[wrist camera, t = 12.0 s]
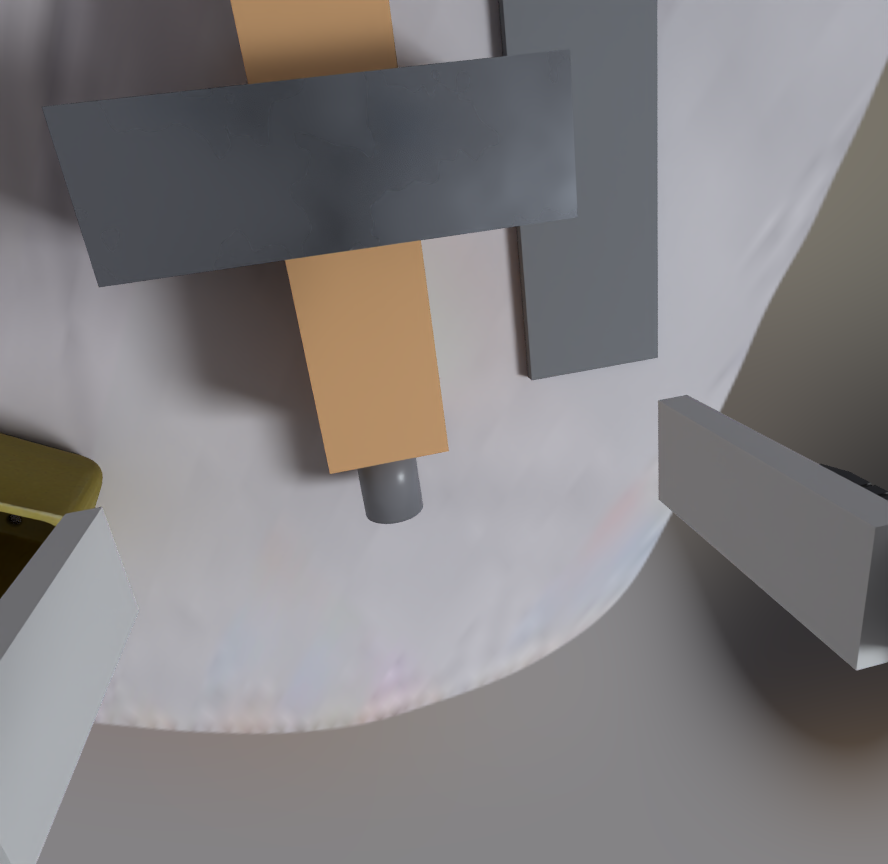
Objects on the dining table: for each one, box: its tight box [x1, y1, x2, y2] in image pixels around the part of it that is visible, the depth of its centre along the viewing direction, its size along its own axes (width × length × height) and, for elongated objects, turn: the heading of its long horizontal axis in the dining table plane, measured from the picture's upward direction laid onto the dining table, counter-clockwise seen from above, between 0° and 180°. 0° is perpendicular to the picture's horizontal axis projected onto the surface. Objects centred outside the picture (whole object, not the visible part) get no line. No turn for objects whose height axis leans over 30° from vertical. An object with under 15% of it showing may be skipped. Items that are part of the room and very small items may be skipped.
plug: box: [231, 0, 449, 524], centre depth 28 cm, size 21×5×7 cm, turn 7°
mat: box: [499, 0, 658, 380], centre depth 30 cm, size 22×7×1 cm, turn 7°
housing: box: [42, 49, 578, 287], centre depth 24 cm, size 5×16×10 cm, turn 97°
